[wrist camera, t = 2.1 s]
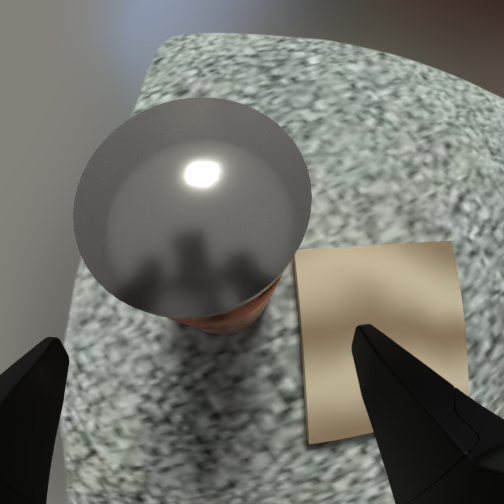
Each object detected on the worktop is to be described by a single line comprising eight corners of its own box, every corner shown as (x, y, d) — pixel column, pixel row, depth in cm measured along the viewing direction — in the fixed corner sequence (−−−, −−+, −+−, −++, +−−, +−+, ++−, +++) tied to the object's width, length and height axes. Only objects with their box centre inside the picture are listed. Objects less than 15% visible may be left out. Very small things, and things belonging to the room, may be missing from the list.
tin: (272, 332, 19) (327, 307, 6) (178, 337, 18) (64, 317, 6) (265, 242, 20) (293, 93, 8) (176, 247, 20) (93, 113, 8)
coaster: (462, 401, 17) (468, 402, 16) (306, 440, 17) (309, 444, 16) (445, 244, 21) (450, 240, 20) (292, 253, 20) (294, 250, 19)
